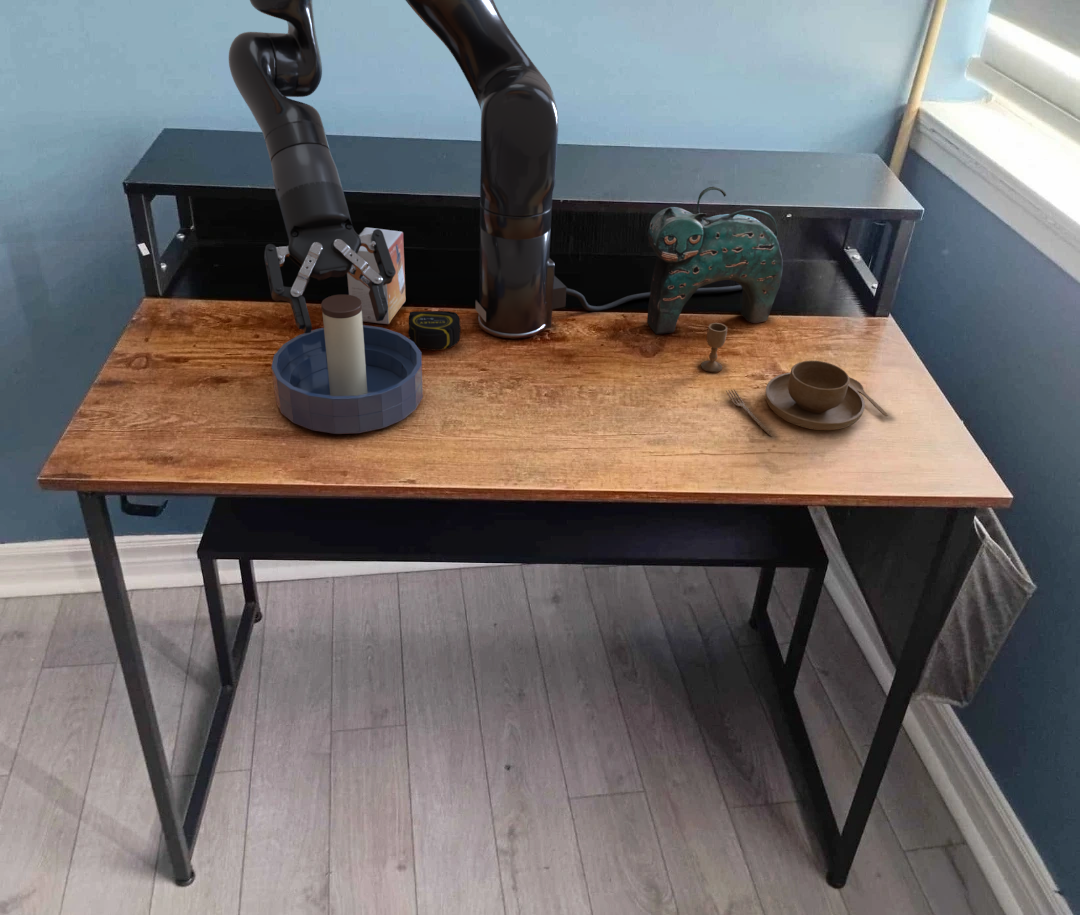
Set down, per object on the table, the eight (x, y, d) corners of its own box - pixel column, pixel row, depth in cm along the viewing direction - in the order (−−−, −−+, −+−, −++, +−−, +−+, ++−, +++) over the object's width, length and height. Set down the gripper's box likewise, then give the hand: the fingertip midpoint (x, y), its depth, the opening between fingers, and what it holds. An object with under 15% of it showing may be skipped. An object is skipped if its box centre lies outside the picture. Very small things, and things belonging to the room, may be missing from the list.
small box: (388, 326, 133) (385, 254, 127) (349, 320, 134) (344, 248, 128) (407, 300, 140) (404, 230, 134) (369, 295, 140) (365, 225, 134)
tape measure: (459, 331, 133) (459, 306, 131) (460, 356, 127) (460, 330, 125) (409, 331, 132) (408, 306, 130) (407, 356, 127) (406, 330, 125)
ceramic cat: (646, 340, 133) (664, 197, 122) (630, 318, 138) (645, 179, 127) (778, 326, 138) (806, 188, 127) (757, 305, 143) (783, 171, 132)
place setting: (776, 447, 113) (786, 404, 110) (692, 364, 128) (699, 324, 125) (899, 421, 119) (911, 380, 116) (805, 344, 134) (814, 306, 131)
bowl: (397, 353, 127) (395, 315, 124) (442, 421, 115) (442, 381, 112) (263, 377, 121) (258, 338, 118) (296, 452, 109) (291, 410, 105)
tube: (361, 380, 120) (355, 291, 113) (372, 399, 117) (366, 308, 110) (325, 387, 118) (316, 297, 111) (335, 406, 115) (327, 314, 108)
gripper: (250, 186, 108) (286, 325, 106) (374, 172, 113) (411, 304, 112) (247, 215, 115) (280, 345, 113) (364, 200, 120) (398, 324, 119)
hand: (345, 324), depth 112 cm, fingers open, 8 cm apart
